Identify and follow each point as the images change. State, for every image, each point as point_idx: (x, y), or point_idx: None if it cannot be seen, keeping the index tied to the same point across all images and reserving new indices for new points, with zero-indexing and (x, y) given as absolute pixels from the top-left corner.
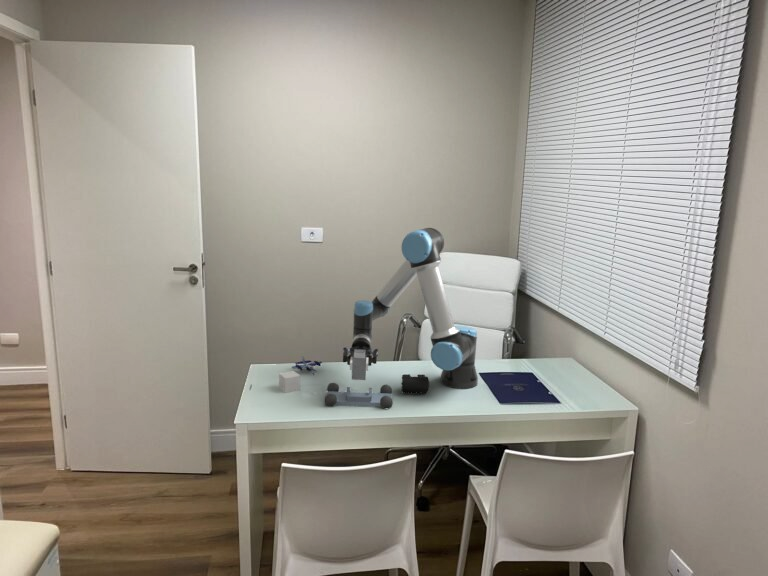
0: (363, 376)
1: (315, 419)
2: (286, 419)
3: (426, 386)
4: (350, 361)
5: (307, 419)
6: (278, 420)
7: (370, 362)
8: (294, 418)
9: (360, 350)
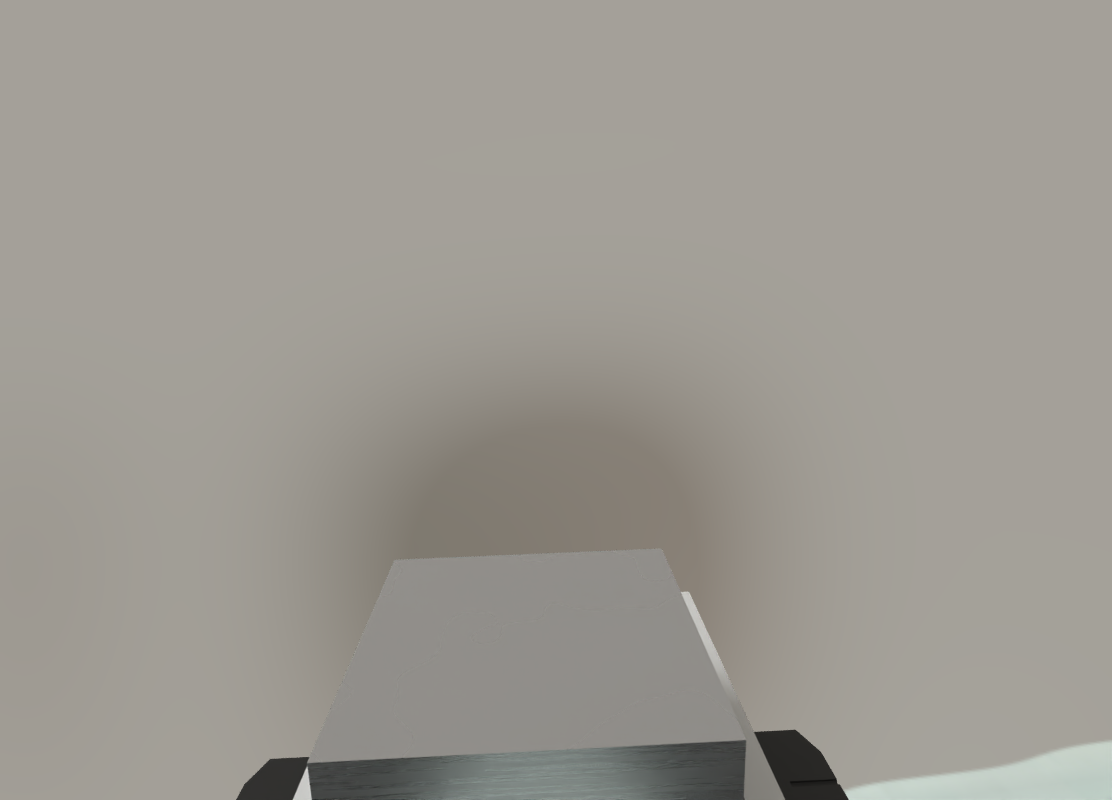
0: None
1: (854, 789)
2: (1054, 765)
3: None
4: (697, 628)
5: (911, 782)
6: (1090, 747)
7: (282, 762)
8: (1015, 785)
9: (511, 681)
